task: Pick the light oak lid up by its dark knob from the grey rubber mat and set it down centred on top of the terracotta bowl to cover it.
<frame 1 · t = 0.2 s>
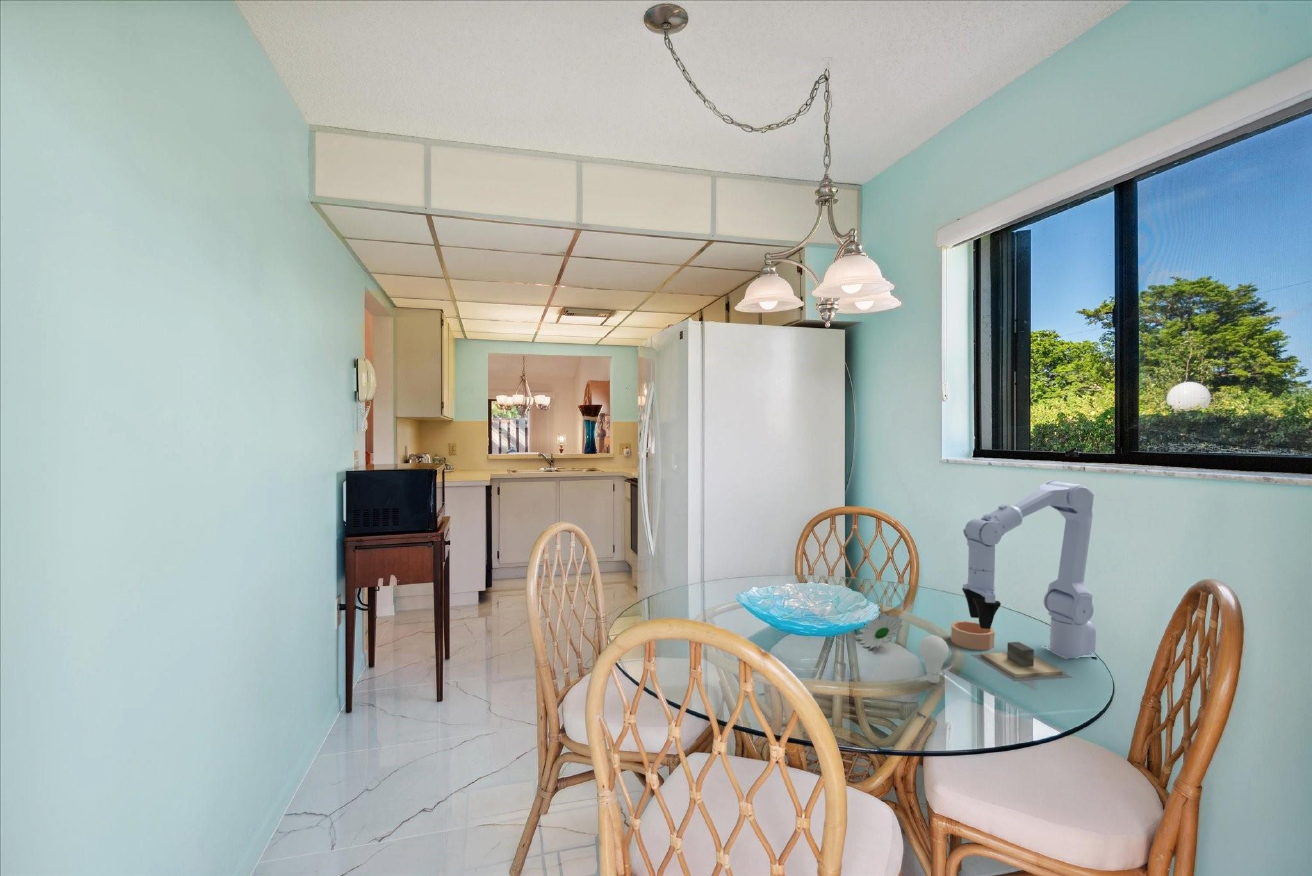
hand: (980, 622, 151), 10 cm above the table, tool pointing down, fingers open, 7 cm apart
lid: (1020, 665, 148), resting on mat
lightbulb: (932, 684, 140), on the table
flower: (873, 634, 171), on the table
bowl: (971, 644, 163), on the table
mat: (1020, 667, 148), on the table
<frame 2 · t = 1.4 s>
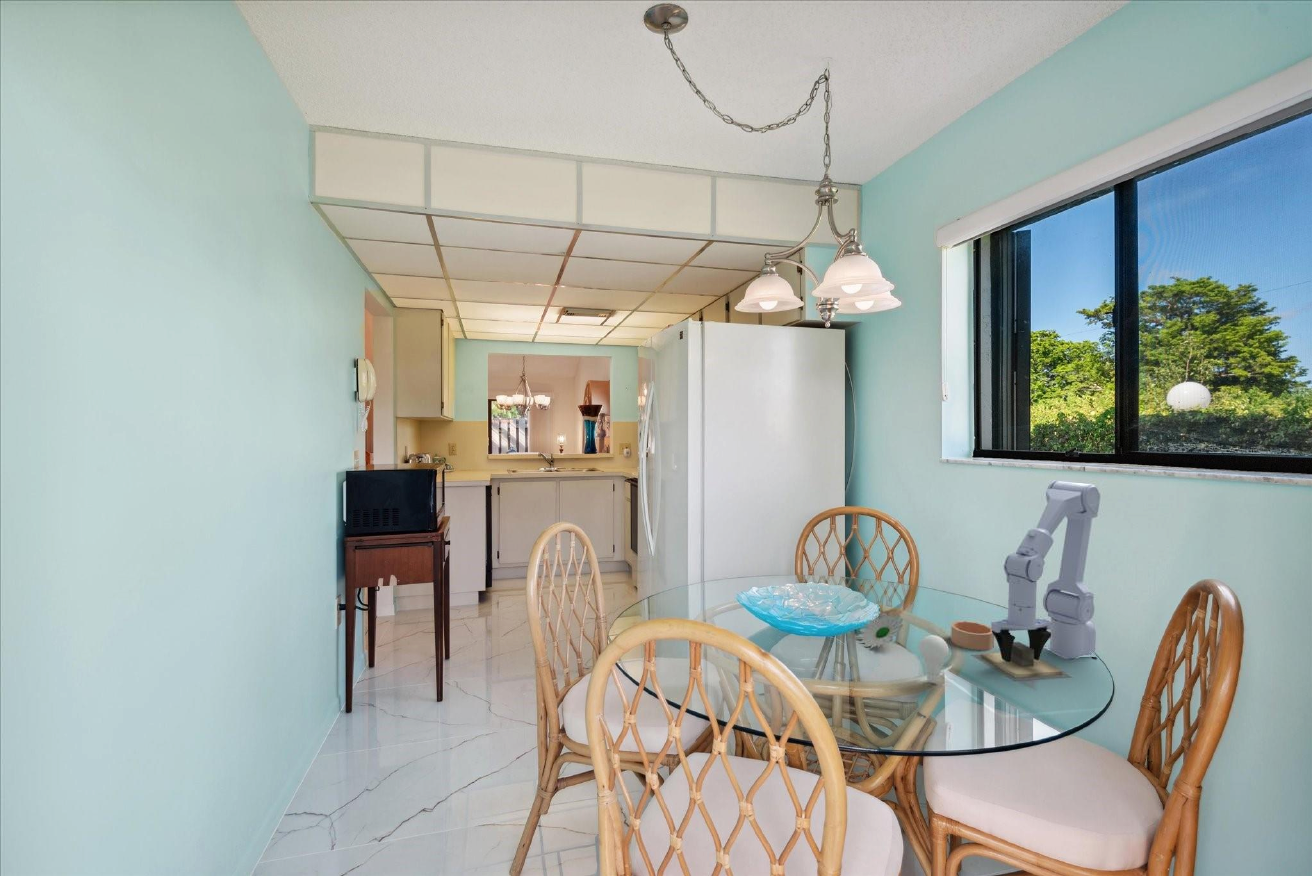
hand: (1020, 659, 148), 2 cm above the table, tool pointing down, fingers open, 7 cm apart
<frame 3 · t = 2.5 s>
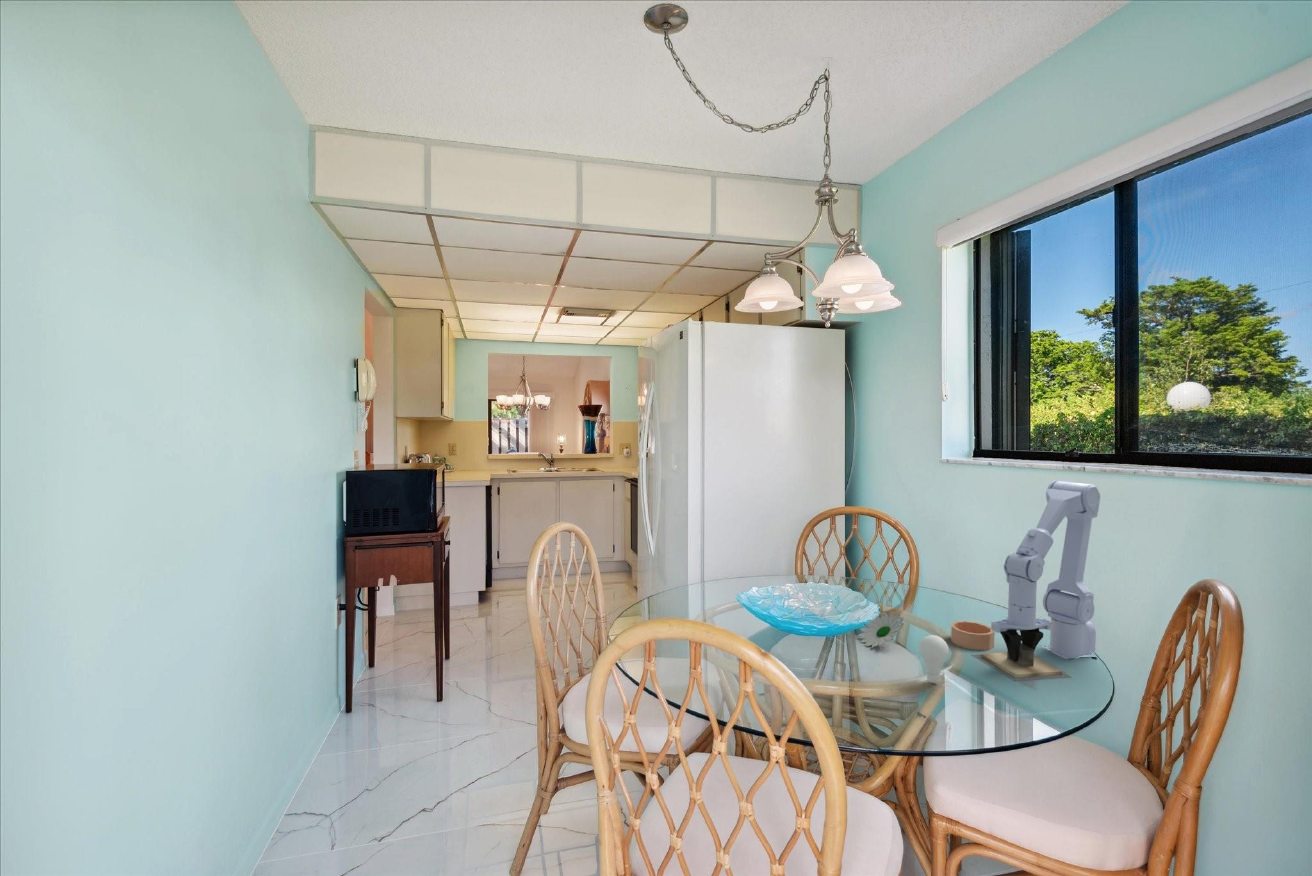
hand: (1020, 659, 148), 2 cm above the table, tool pointing down, fingers closed on lid, 3 cm apart
lid: (1020, 665, 148), resting on mat, touching gripper
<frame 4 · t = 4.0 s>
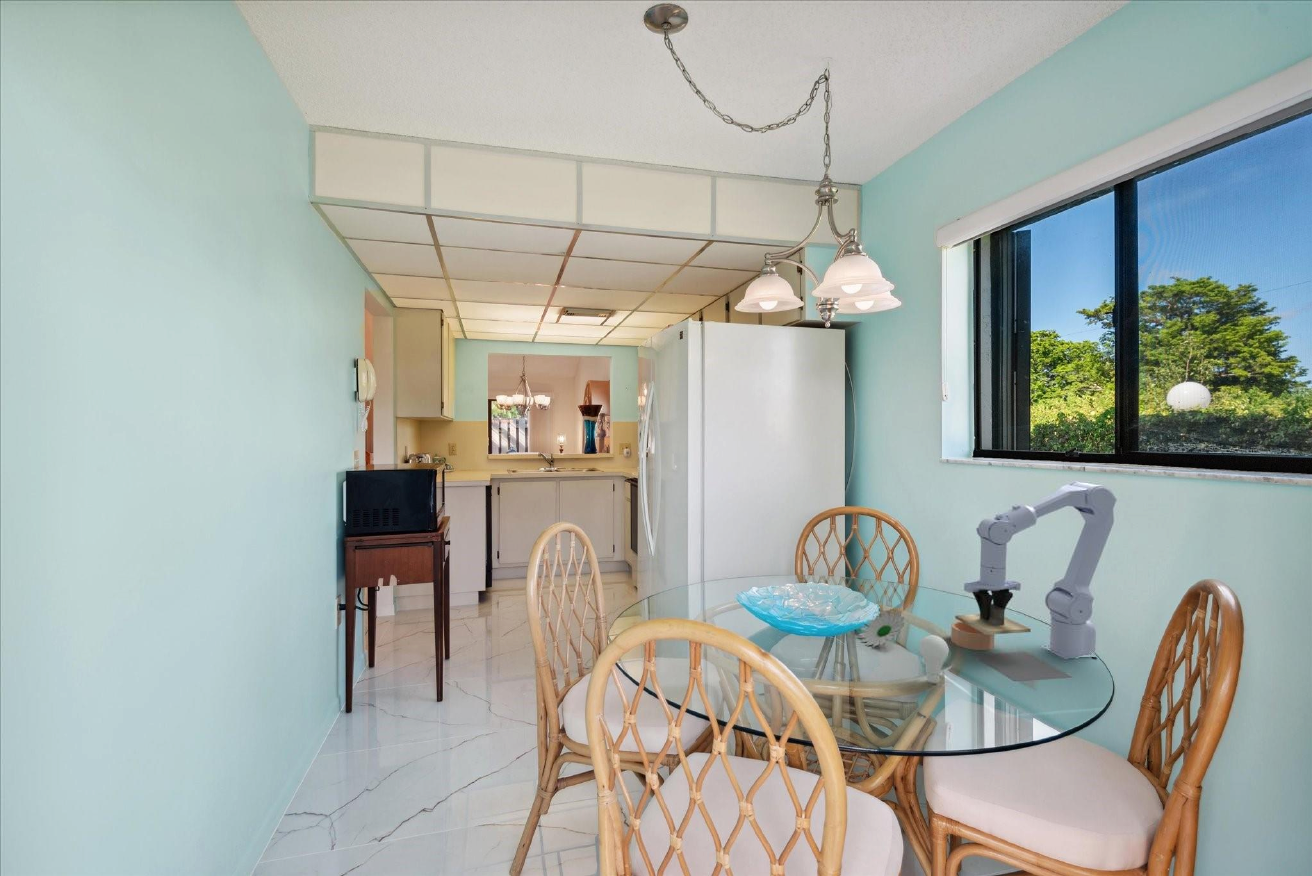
hand: (991, 618, 156), 9 cm above the table, tool pointing down, fingers closed on lid, 3 cm apart
lid: (991, 625, 156), point 7 cm above the table, touching gripper
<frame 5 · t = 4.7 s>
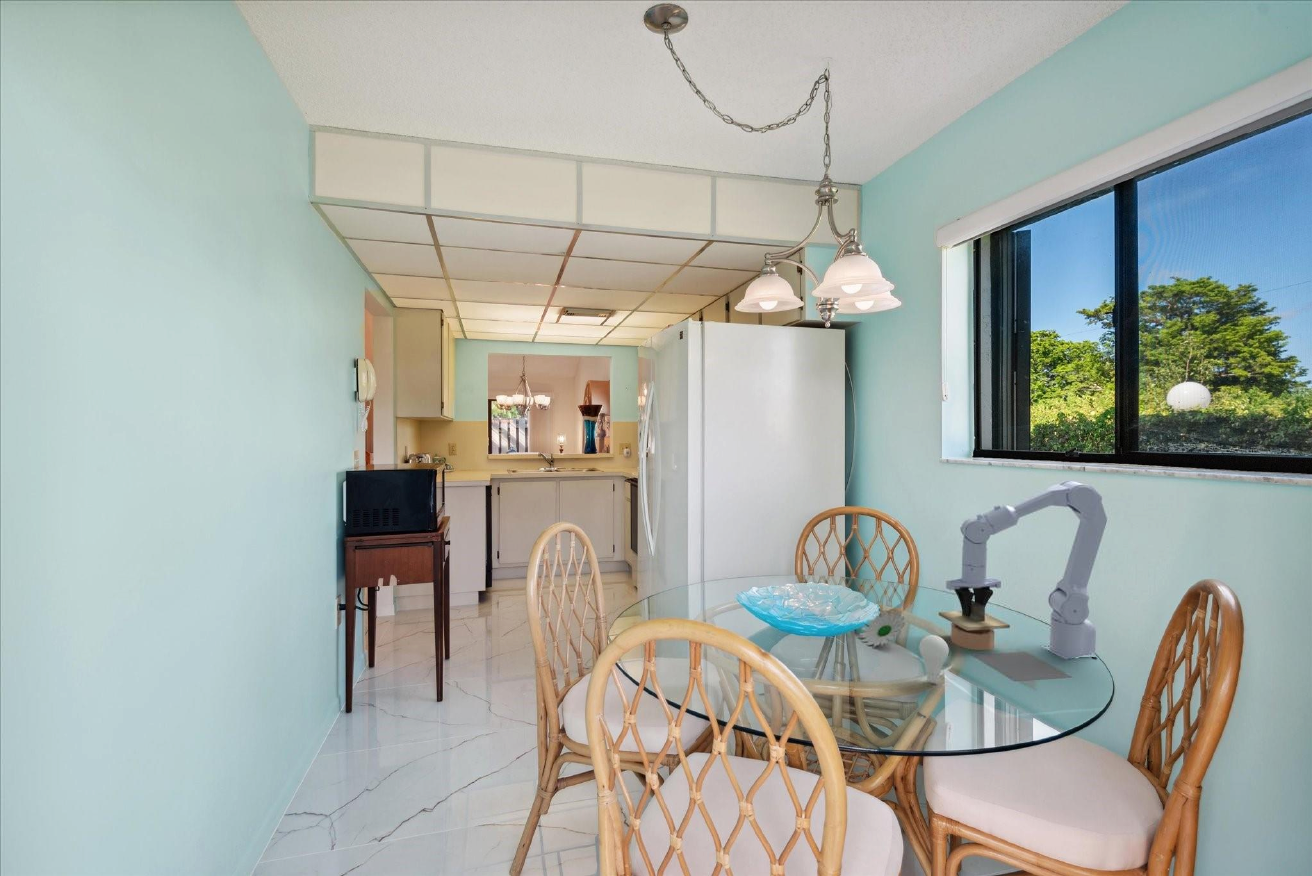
hand: (972, 615, 162), 8 cm above the table, tool pointing down, fingers closed on lid, 3 cm apart
lid: (973, 621, 162), point 6 cm above the table, touching gripper
when the fingers open (7 cm above the table, at t = 5.5 s): lid drops 1 cm, resting on bowl.
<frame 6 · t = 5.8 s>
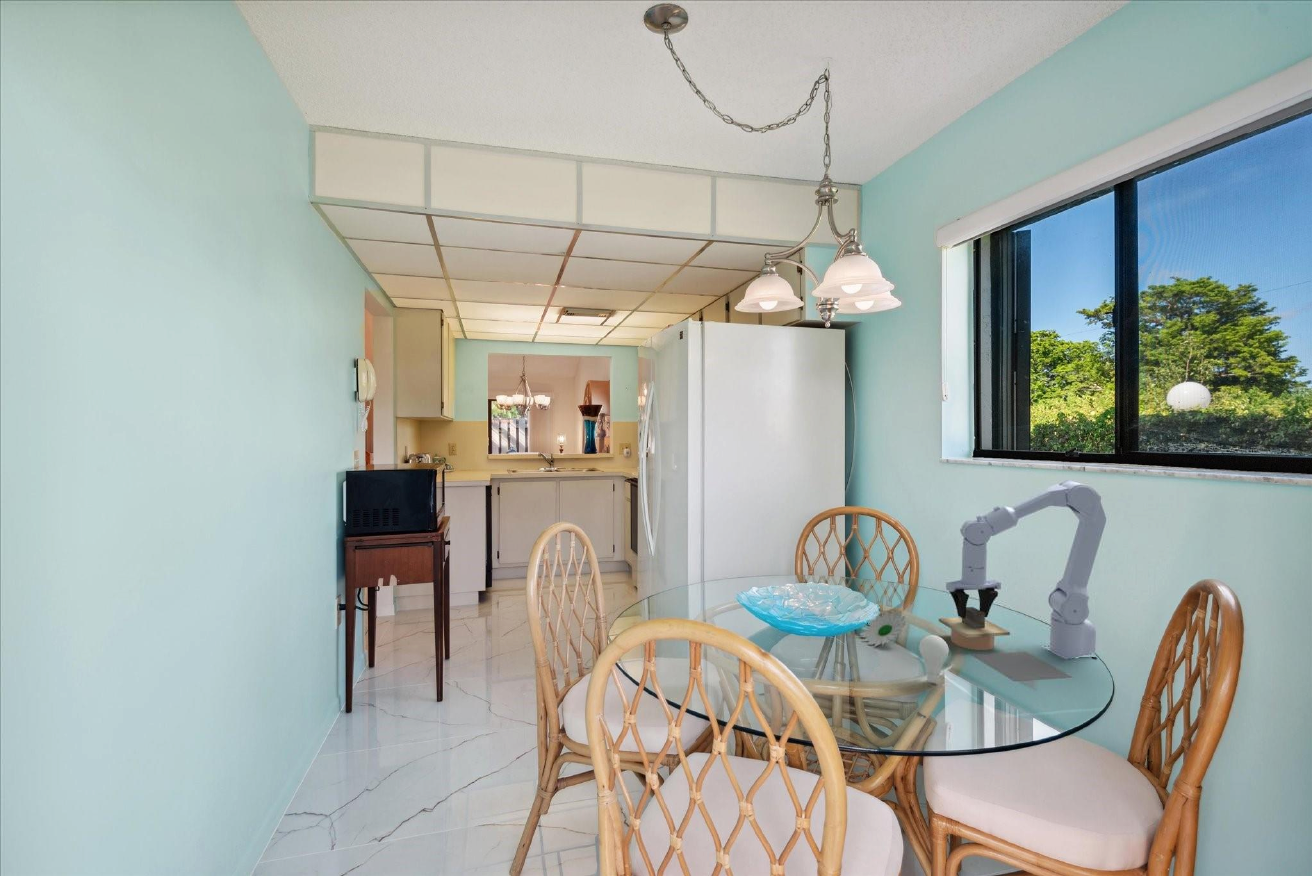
hand: (972, 616, 162), 8 cm above the table, tool pointing down, fingers open, 6 cm apart
lid: (973, 628, 162), point 4 cm above the table, touching bowl
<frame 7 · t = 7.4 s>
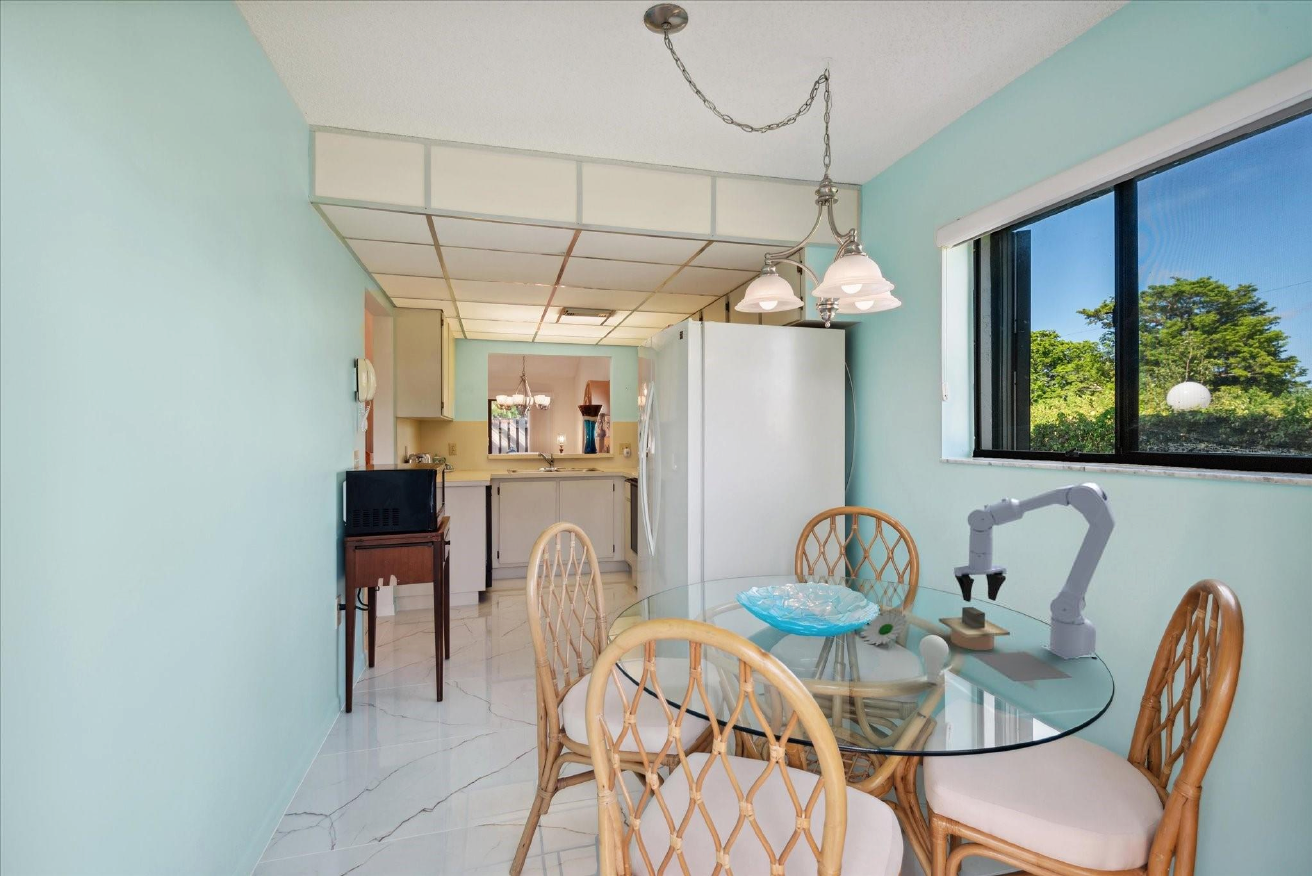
hand: (979, 600, 170), 9 cm above the table, tool pointing down, fingers open, 7 cm apart
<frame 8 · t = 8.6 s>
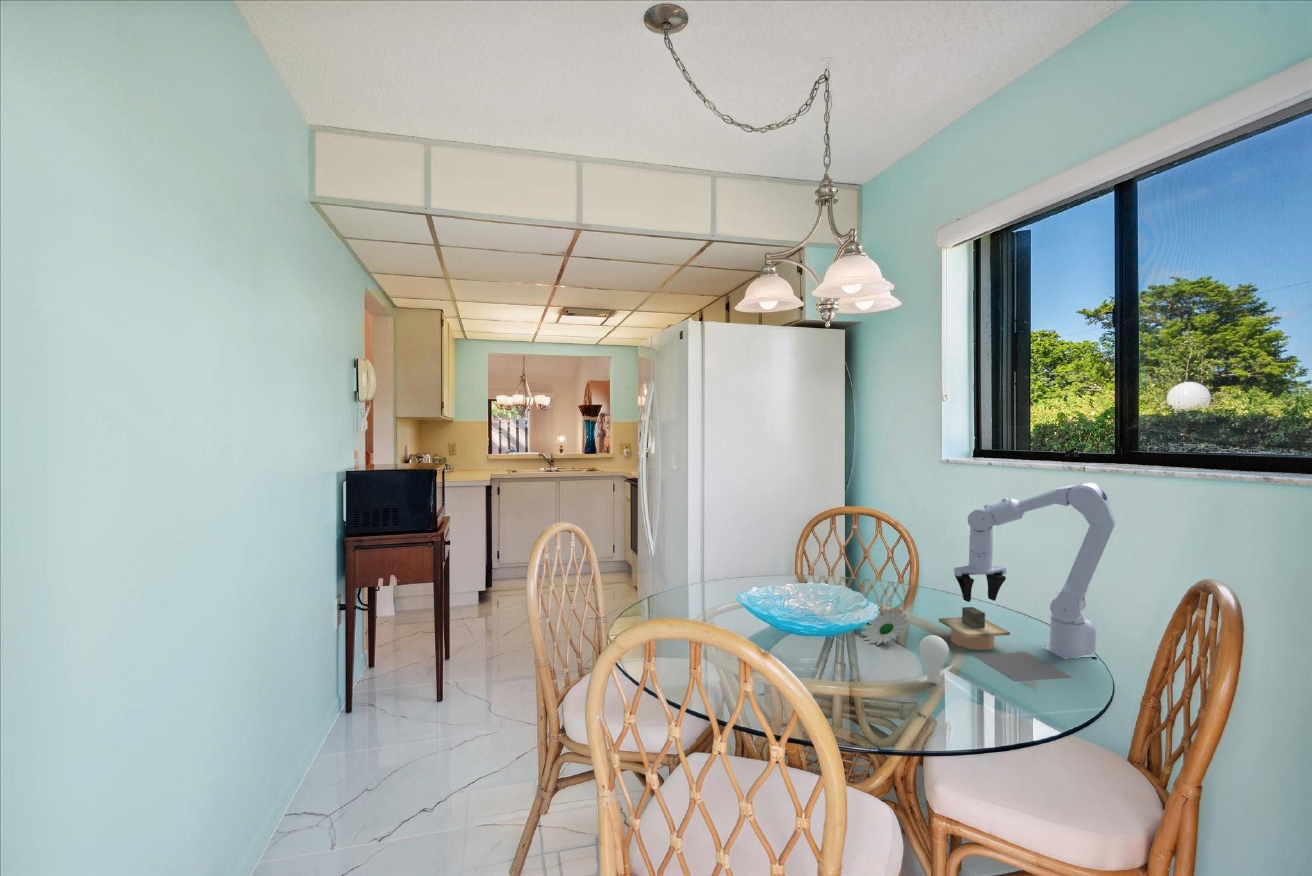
hand: (979, 600, 170), 9 cm above the table, tool pointing down, fingers open, 7 cm apart
at the end: lid 0.3 cm off-centre on the bowl, point 4.5 cm above the bowl's base; lid tilted 0°; the gripper is holding nothing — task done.
